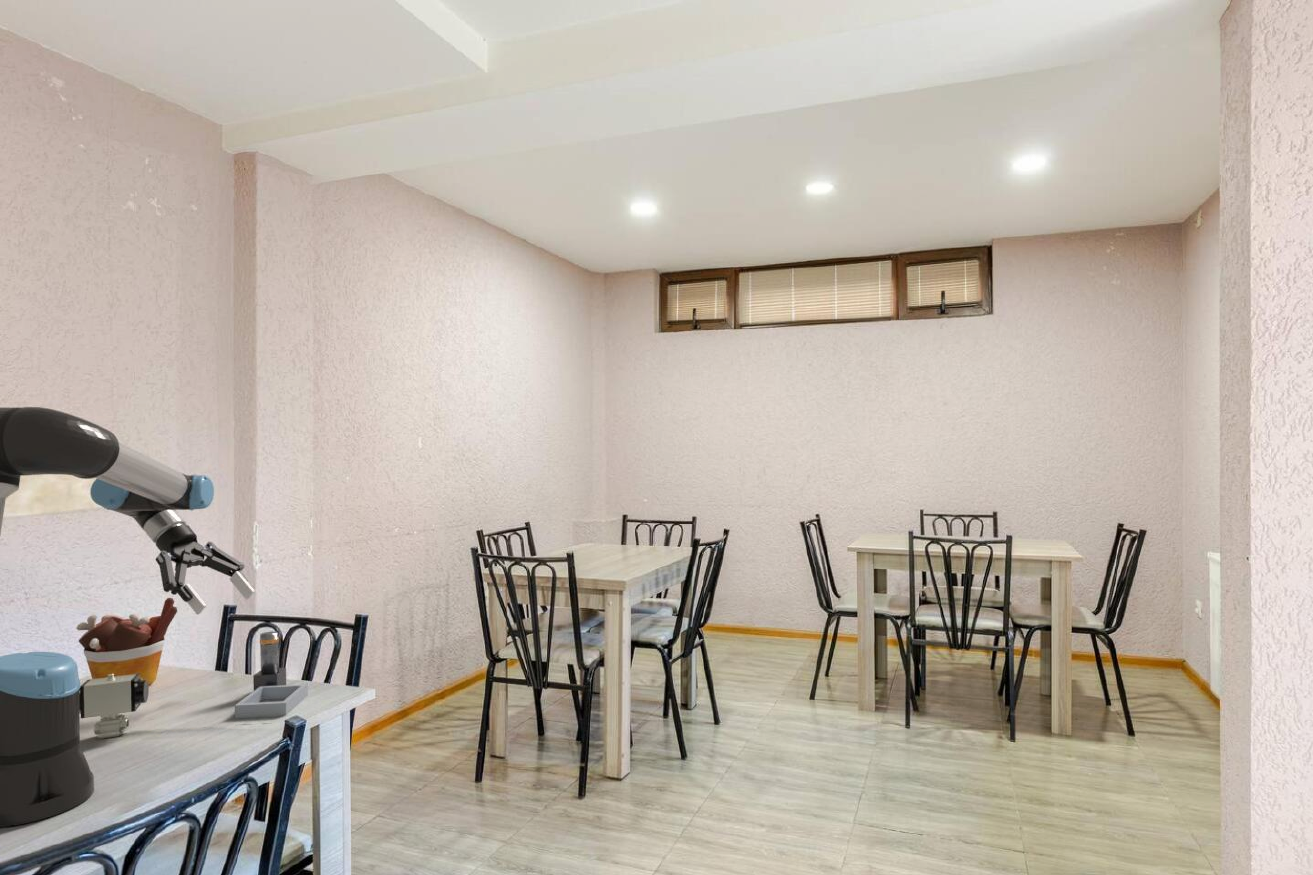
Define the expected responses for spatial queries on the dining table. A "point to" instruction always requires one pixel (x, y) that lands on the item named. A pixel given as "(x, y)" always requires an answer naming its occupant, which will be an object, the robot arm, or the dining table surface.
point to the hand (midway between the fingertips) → (227, 602)
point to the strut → (269, 662)
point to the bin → (256, 709)
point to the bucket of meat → (126, 643)
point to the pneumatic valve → (112, 701)
